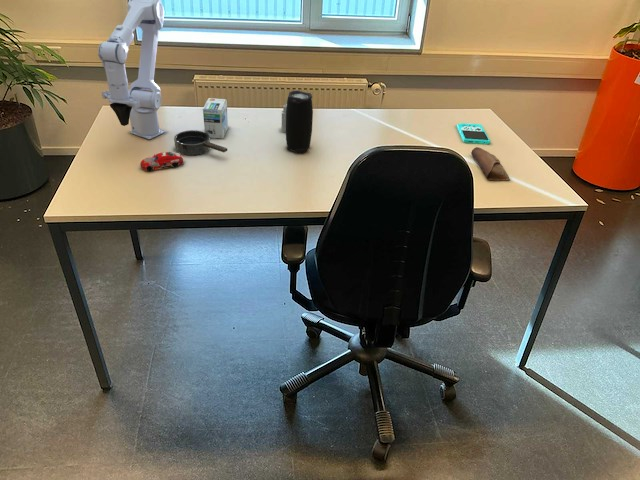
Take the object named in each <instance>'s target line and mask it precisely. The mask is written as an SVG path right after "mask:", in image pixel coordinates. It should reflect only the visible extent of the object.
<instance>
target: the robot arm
mask: <svg viewBox="0 0 640 480" xmlns="http://www.w3.org/2000/svg"><path fill="white" fill-rule="evenodd" d="M164 18H165V9H164V5H163V3H162V1H161V0H128V2H127V14H126V16H125V18H124V20H123V21H122V24H118V25H116V26H115V28H114V30H113V31H112V32H111V34H110V36H109V37H108V38H107V40H106V41H103V42H101V43H100V44H99V46H98V48H97V49H98V53H97V56H98V58H99V60H100V61H101V64H102V67H103V68H104V70H105V76H106V81H107V87H108V90H104V91H101V93H100V94H101V98H102V99H103V100H106V99H107V101H108V103H110V104H109V108H111V109H112V111H113V112H114V113H115V115H116V117H117V119H118V121H119V124H120V126H122V127H125V126H126V127H127V126H128V125H129V124H130V129H131V130H130V131H129V133H130V134H131V135H135V136H137V137H141V138H143V139H146V140H152V139H155V138H156V137H158V136H160V135H163V134H164V133H166V130H165V129H161V128H160V122H159V113H158V110H159V109H160V108H161V106H162V90H161V88H160V86H159V85H158V84H157V83H155V81H154V79H155V73H156V61H157V51H158V43H159V42H158V41H159V34H160V33H159V31H161V30H162V29H163V27H164V26H163V25H164ZM137 28H140V29H141V31H142V35H141V45H140V52H139V53H140V54H139V63H138V64H139V65H138V74H137V75H138V76H137V78H136V79H135V80H134V81H133V82H131V83H130V84H129V83H128V82H129V81H128V76H127V70H126V64H125V63H126V62H127V60H128V53H129V47H130V45H131V44H132V42H133V41H134V39H135V34H134V32H135V30H136V29H137ZM129 85H130V86H129Z"/></svg>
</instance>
